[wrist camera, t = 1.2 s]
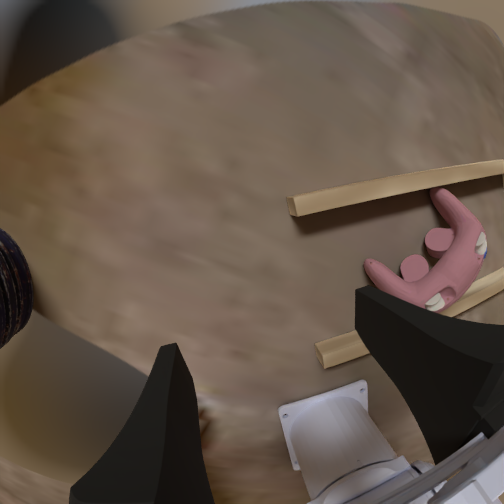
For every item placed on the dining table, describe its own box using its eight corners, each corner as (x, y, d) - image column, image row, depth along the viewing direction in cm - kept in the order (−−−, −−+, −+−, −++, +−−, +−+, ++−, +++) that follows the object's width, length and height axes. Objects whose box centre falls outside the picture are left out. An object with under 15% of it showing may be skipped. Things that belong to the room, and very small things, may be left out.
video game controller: (370, 291, 24) (428, 343, 19) (354, 262, 22) (423, 320, 16) (440, 213, 24) (501, 250, 19) (433, 177, 21) (504, 213, 16)
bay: (514, 270, 25) (539, 279, 21) (316, 356, 23) (333, 383, 19) (508, 158, 22) (535, 157, 18) (286, 197, 21) (302, 197, 17)
